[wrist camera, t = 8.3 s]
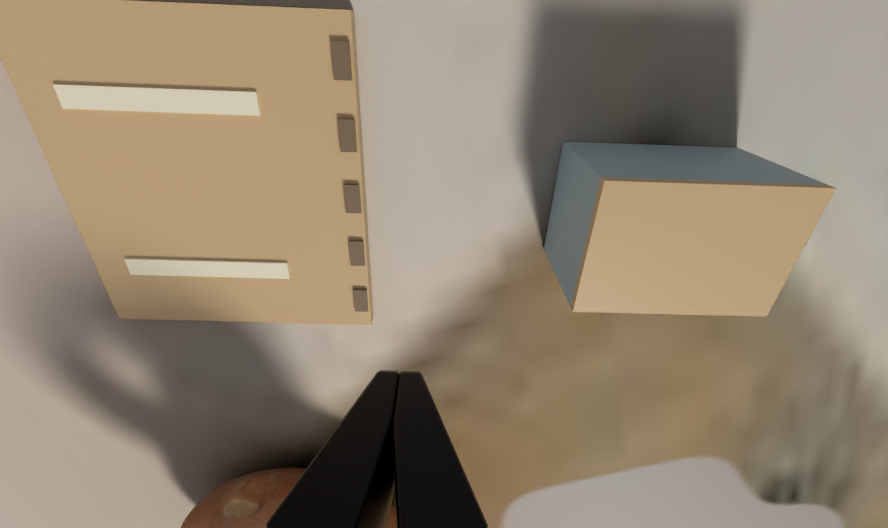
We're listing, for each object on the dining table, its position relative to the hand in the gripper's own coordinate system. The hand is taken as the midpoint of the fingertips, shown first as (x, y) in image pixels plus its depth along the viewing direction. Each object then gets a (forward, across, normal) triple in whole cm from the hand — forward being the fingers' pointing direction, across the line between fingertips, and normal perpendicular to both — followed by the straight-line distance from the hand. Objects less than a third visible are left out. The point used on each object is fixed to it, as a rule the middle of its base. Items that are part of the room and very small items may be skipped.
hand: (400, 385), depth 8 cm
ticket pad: (+10, +8, 0) cm, 13 cm away
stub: (+10, -9, 0) cm, 14 cm away
